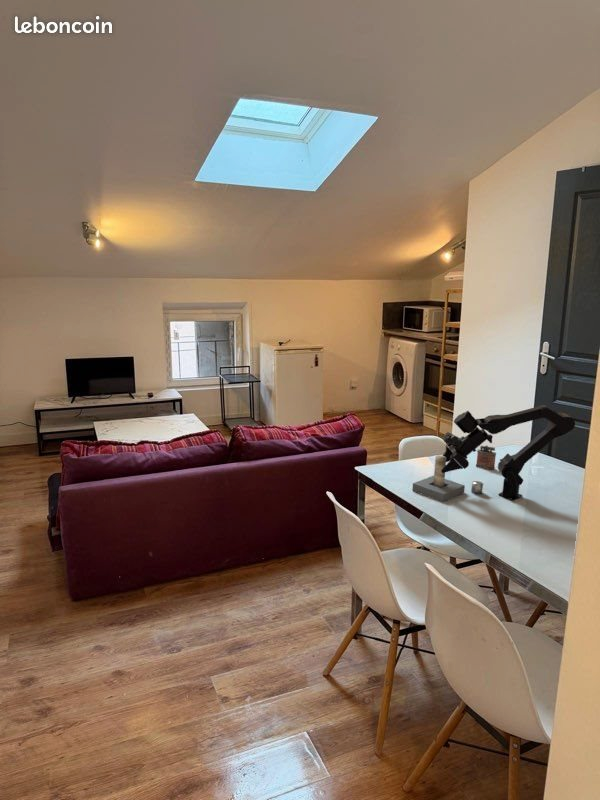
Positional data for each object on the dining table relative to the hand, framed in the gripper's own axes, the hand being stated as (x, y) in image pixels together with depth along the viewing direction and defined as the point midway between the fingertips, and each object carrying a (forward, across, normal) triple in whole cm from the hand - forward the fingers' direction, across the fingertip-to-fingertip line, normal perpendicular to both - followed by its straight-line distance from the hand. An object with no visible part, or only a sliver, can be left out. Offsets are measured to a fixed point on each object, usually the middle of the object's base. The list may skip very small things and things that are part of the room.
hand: (440, 467), depth 201 cm
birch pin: (+7, 0, +7) cm, 10 cm away
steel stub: (-3, -2, +17) cm, 18 cm away
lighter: (-10, -32, +24) cm, 41 cm away
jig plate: (+7, 0, +7) cm, 10 cm away
